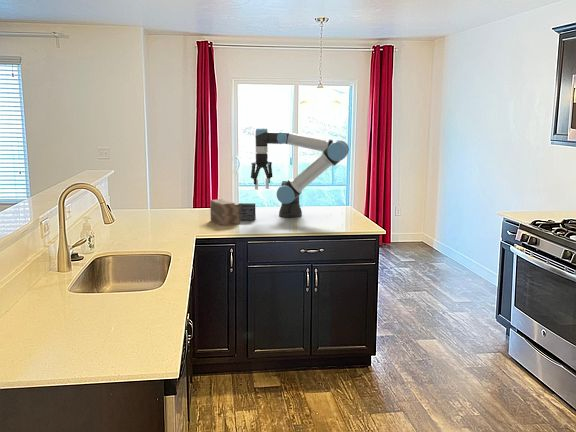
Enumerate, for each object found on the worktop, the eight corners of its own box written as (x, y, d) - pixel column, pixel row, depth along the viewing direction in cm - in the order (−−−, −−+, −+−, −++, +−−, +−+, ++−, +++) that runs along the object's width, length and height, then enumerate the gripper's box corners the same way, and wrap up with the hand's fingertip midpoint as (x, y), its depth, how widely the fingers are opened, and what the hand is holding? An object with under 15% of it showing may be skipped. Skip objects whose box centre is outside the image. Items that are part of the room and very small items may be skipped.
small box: (255, 219, 372) (255, 203, 370) (254, 221, 366) (254, 204, 364) (239, 218, 373) (239, 202, 372) (237, 220, 367) (237, 204, 365)
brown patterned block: (226, 219, 372) (226, 198, 370) (239, 223, 357) (239, 202, 355) (210, 220, 366) (210, 200, 364) (223, 225, 351) (222, 204, 349)
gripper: (272, 152, 376) (272, 187, 380) (244, 153, 366) (245, 189, 370) (278, 152, 370) (278, 188, 374) (250, 154, 359) (250, 190, 364)
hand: (261, 188), depth 372 cm, fingers open, 7 cm apart
